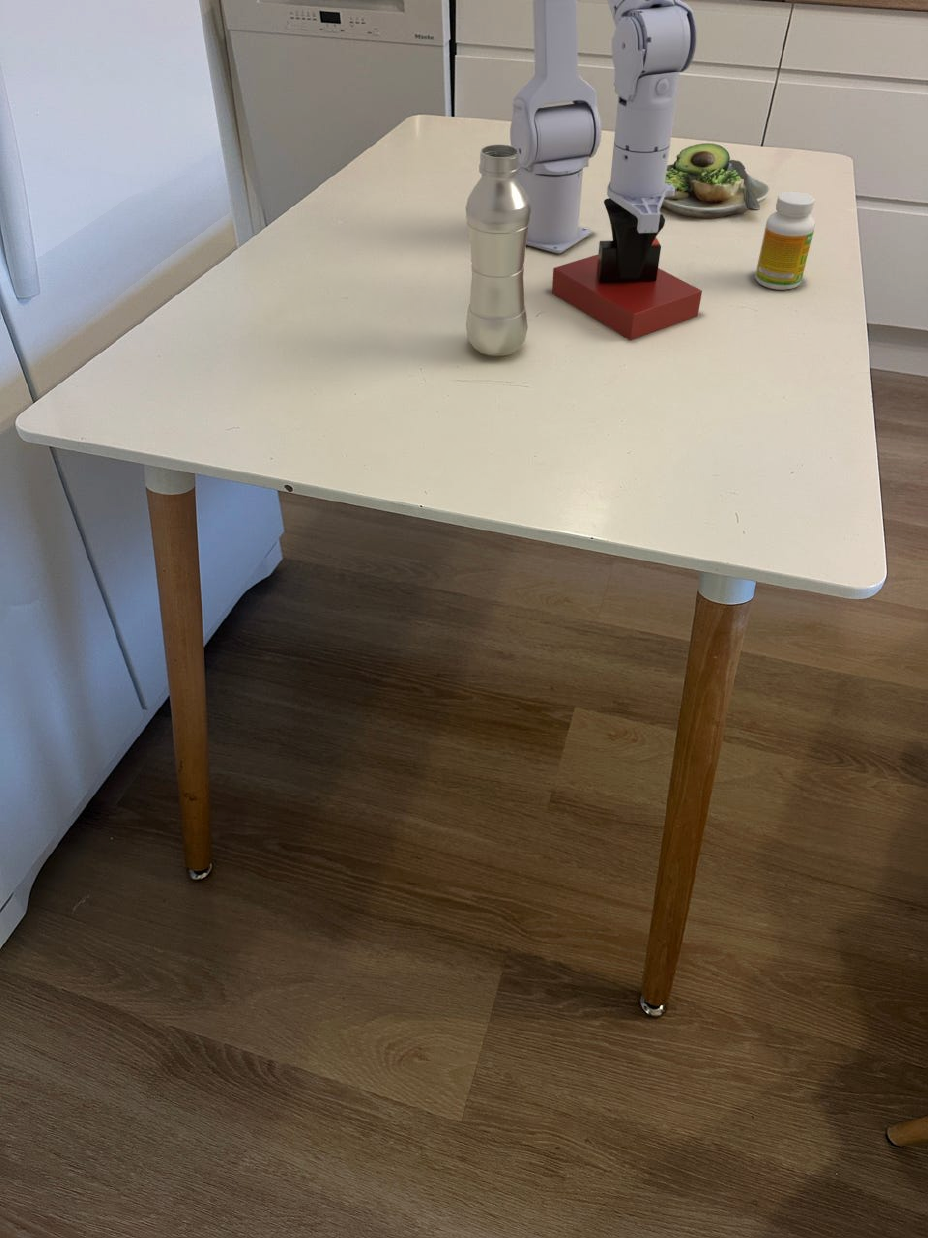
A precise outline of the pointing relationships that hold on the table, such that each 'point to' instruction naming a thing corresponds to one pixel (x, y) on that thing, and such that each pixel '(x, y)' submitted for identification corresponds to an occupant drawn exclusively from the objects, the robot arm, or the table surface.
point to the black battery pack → (609, 263)
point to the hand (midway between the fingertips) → (626, 271)
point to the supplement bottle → (786, 242)
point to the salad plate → (711, 184)
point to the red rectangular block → (626, 298)
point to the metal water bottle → (497, 253)
